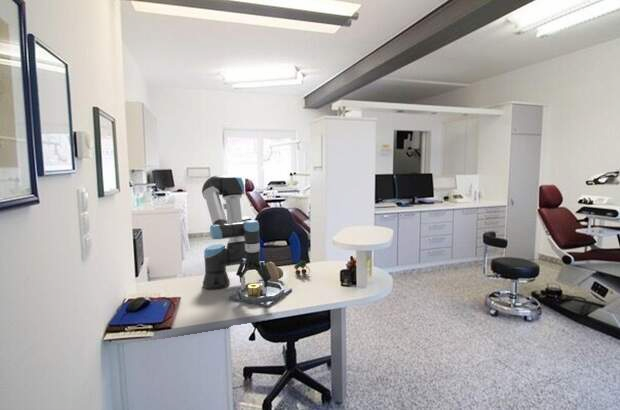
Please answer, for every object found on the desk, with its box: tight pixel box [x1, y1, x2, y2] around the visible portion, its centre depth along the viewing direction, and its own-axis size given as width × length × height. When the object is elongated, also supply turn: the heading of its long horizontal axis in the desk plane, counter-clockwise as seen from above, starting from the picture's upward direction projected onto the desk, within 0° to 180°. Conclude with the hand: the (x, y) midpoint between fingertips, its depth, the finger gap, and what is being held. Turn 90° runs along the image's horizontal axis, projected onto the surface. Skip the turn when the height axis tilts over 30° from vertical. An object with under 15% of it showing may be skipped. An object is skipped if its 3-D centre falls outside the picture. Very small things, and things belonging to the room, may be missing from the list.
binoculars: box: [293, 260, 311, 278], centre depth 209 cm, size 9×9×10 cm
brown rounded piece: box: [257, 261, 284, 283], centre depth 202 cm, size 13×8×15 cm
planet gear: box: [248, 284, 260, 297], centre depth 173 cm, size 6×6×6 cm
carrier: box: [228, 280, 293, 308], centre depth 179 cm, size 24×24×6 cm
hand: (254, 290), depth 173 cm, fingers open, 13 cm apart
